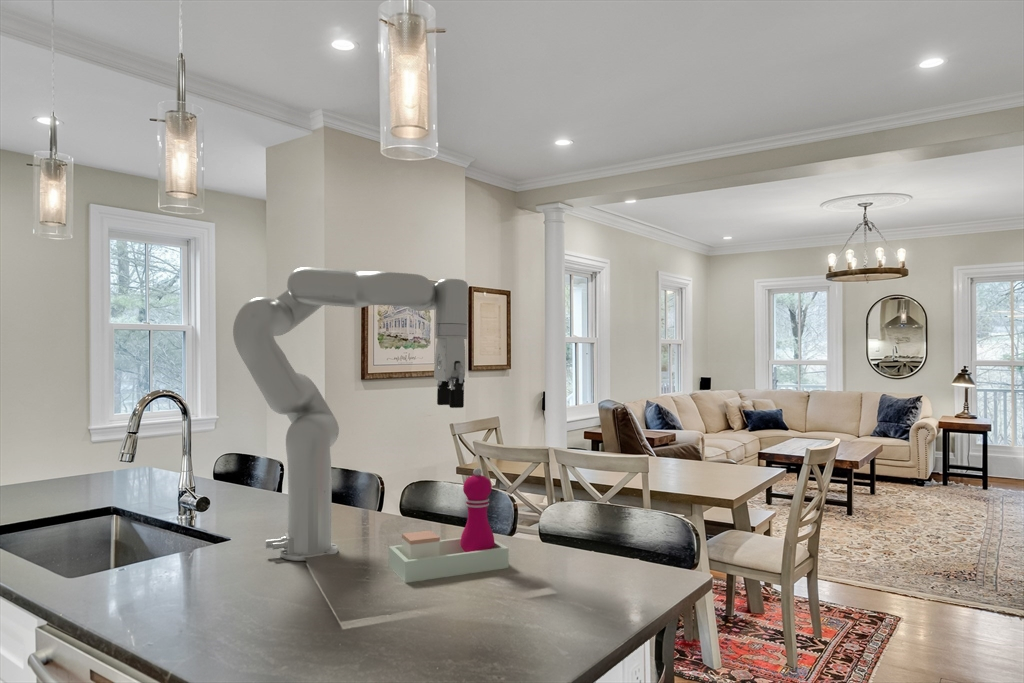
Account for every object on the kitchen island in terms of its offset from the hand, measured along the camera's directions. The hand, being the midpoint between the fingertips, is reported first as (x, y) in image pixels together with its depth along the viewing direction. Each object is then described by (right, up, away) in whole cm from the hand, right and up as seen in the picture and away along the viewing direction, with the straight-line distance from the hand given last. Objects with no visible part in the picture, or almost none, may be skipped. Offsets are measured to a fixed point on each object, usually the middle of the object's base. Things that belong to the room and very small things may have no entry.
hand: (450, 406), depth 155 cm
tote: (+1, -33, -16) cm, 37 cm away
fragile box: (-4, -32, -19) cm, 37 cm away
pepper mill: (+7, -32, -14) cm, 36 cm away
